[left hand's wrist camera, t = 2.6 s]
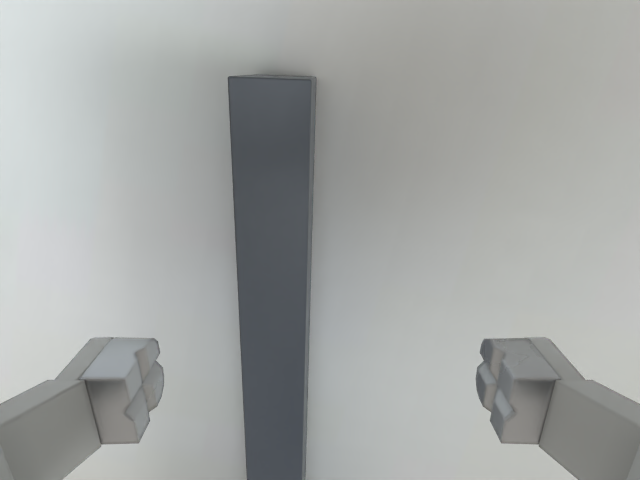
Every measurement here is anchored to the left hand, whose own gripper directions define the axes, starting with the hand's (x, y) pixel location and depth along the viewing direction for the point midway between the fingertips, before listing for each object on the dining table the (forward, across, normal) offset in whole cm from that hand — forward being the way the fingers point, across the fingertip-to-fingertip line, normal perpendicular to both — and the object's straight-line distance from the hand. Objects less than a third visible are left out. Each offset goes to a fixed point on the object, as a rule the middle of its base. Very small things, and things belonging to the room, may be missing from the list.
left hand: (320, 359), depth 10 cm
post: (+21, -3, -19) cm, 29 cm away
